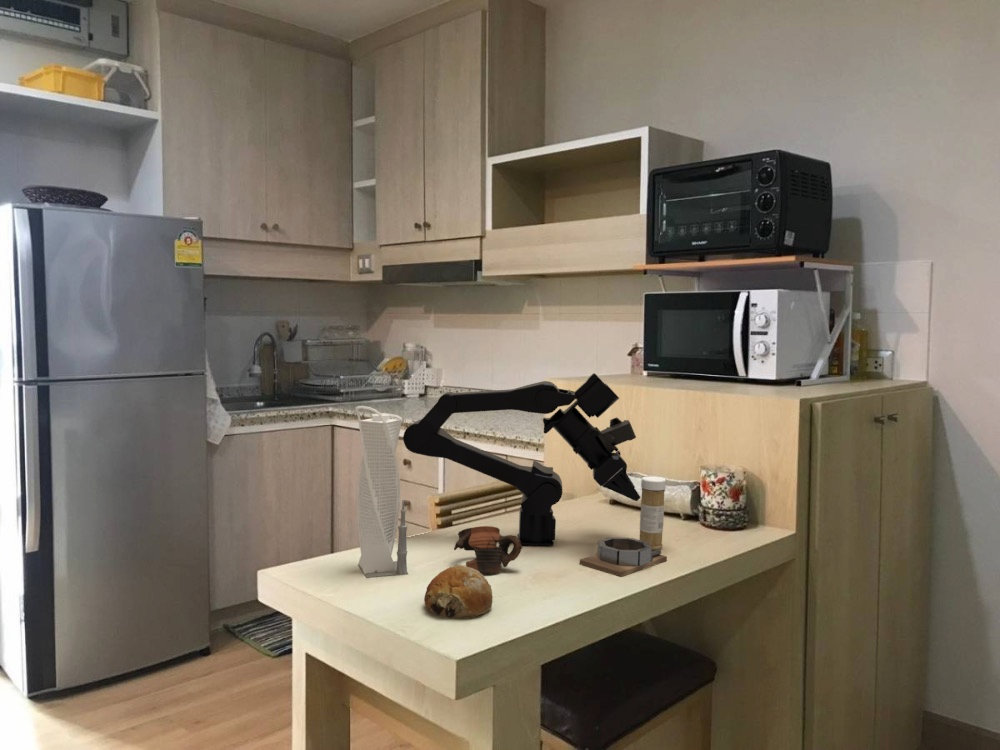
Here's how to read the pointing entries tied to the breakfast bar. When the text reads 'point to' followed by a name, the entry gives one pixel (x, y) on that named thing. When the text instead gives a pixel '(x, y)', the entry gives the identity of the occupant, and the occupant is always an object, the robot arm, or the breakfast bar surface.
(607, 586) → the breakfast bar surface
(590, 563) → the walnut board
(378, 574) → the skyscraper
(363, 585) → the breakfast bar surface
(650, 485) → the sprinkles bottle
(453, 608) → the bread roll
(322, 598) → the breakfast bar surface
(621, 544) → the collar
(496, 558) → the pottery mug
